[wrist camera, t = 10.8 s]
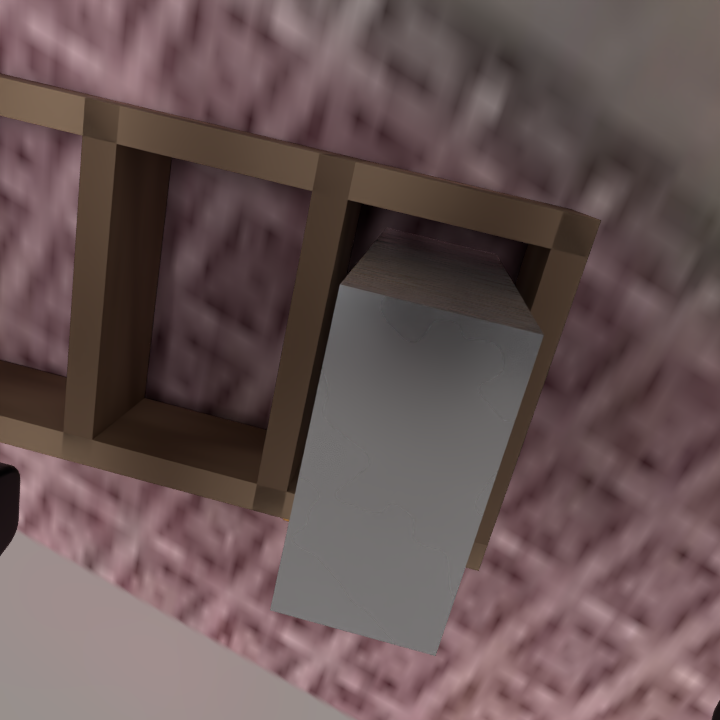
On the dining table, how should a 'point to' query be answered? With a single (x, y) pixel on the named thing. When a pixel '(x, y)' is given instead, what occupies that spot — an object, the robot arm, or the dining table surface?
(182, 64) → the dining table surface
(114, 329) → the rack
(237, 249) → the dining table surface
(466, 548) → the grey metallic rectangular block
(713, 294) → the dining table surface
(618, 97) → the dining table surface
